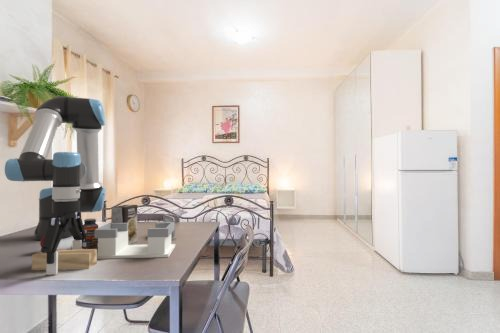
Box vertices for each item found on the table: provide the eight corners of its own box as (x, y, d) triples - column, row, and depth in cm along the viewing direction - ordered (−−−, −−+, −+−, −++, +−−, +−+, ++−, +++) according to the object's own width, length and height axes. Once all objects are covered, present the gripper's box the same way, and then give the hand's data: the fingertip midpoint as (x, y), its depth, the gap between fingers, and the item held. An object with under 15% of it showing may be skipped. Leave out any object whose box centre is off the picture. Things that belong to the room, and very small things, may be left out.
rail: (42, 265, 90) (42, 250, 90) (96, 264, 91) (96, 249, 91) (31, 271, 85) (31, 254, 85) (89, 269, 86) (89, 253, 86)
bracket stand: (109, 247, 109) (109, 222, 109) (175, 246, 112) (175, 221, 112) (92, 259, 95) (92, 230, 95) (168, 257, 98) (168, 229, 98)
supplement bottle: (85, 250, 105) (86, 221, 105) (77, 248, 108) (78, 219, 109) (101, 246, 110) (101, 218, 111) (93, 244, 114) (93, 217, 114)
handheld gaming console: (146, 237, 127) (146, 215, 127) (165, 234, 133) (165, 213, 133) (155, 243, 117) (155, 219, 117) (176, 239, 122) (176, 217, 122)
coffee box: (124, 247, 110) (124, 207, 110) (110, 246, 111) (110, 206, 111) (137, 241, 119) (138, 204, 119) (124, 240, 120) (124, 204, 120)
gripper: (54, 204, 76) (53, 281, 76) (96, 196, 101) (95, 254, 100) (25, 204, 75) (24, 282, 75) (75, 196, 100) (74, 254, 100)
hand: (65, 266), depth 88 cm, fingers open, 13 cm apart
